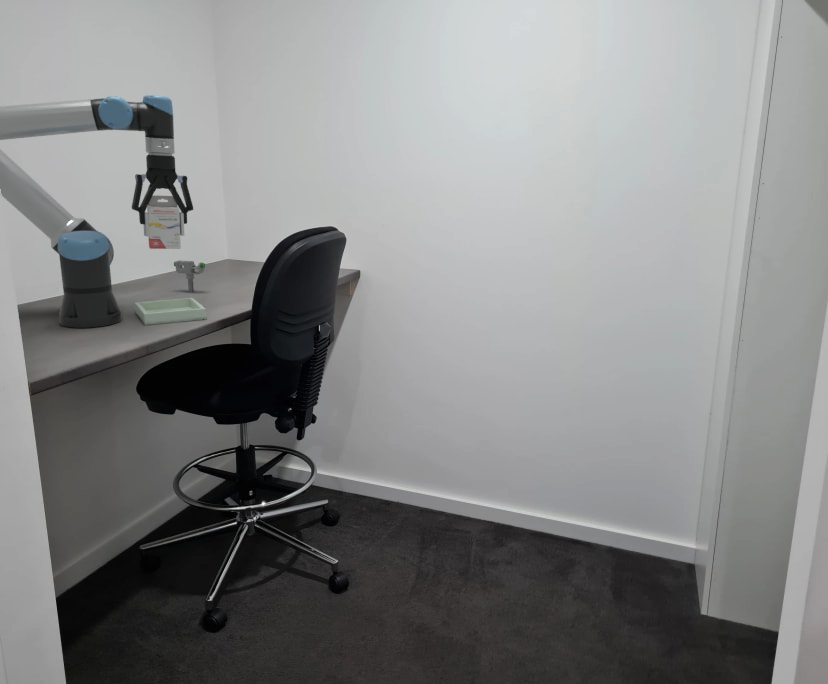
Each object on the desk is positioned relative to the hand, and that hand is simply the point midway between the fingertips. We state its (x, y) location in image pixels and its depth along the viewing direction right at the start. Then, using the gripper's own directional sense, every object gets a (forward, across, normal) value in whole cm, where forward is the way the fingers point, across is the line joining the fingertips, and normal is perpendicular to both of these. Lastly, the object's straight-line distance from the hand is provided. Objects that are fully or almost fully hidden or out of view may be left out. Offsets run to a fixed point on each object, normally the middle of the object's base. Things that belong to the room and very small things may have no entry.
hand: (164, 235), depth 193 cm
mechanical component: (+21, +13, +20) cm, 31 cm away
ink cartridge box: (+4, 0, 0) cm, 4 cm away
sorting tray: (+21, -2, -11) cm, 24 cm away
